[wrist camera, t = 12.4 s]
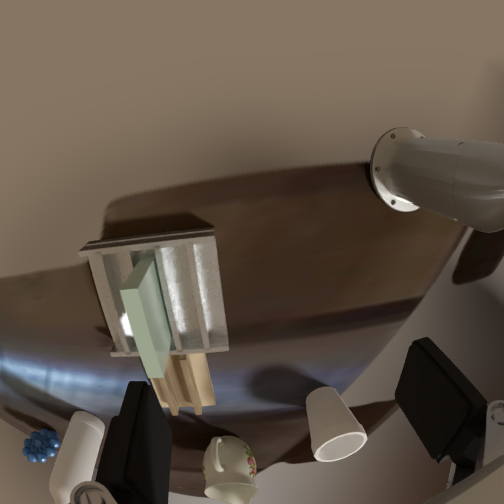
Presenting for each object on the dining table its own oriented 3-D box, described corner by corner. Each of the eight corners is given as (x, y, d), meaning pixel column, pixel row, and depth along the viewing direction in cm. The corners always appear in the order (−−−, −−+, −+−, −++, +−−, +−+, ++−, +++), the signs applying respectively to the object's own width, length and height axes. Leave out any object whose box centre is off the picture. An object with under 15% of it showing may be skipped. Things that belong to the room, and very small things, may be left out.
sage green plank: (156, 254, 37) (137, 288, 27) (173, 331, 41) (163, 377, 31) (142, 255, 37) (119, 290, 27) (160, 332, 41) (148, 378, 31)
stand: (202, 340, 43) (201, 356, 40) (215, 399, 48) (215, 415, 44) (141, 343, 43) (136, 359, 39) (162, 401, 47) (160, 417, 44)
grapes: (40, 435, 51) (27, 466, 39) (27, 420, 48) (13, 452, 37) (71, 442, 51) (60, 476, 40) (59, 426, 49) (45, 462, 38)
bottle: (69, 418, 48) (34, 523, 20) (78, 405, 47) (39, 521, 19) (98, 435, 50) (73, 541, 22) (110, 423, 49) (84, 541, 21)
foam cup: (292, 393, 50) (308, 447, 37) (338, 373, 49) (363, 424, 37) (305, 417, 53) (321, 466, 41) (346, 400, 53) (369, 447, 40)
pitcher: (239, 413, 50) (246, 472, 37) (259, 454, 57) (268, 501, 44) (186, 423, 50) (183, 479, 37) (215, 462, 56) (218, 508, 43)
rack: (214, 226, 38) (214, 234, 34) (227, 335, 44) (229, 351, 40) (89, 241, 36) (77, 250, 33) (118, 341, 42) (111, 357, 38)
